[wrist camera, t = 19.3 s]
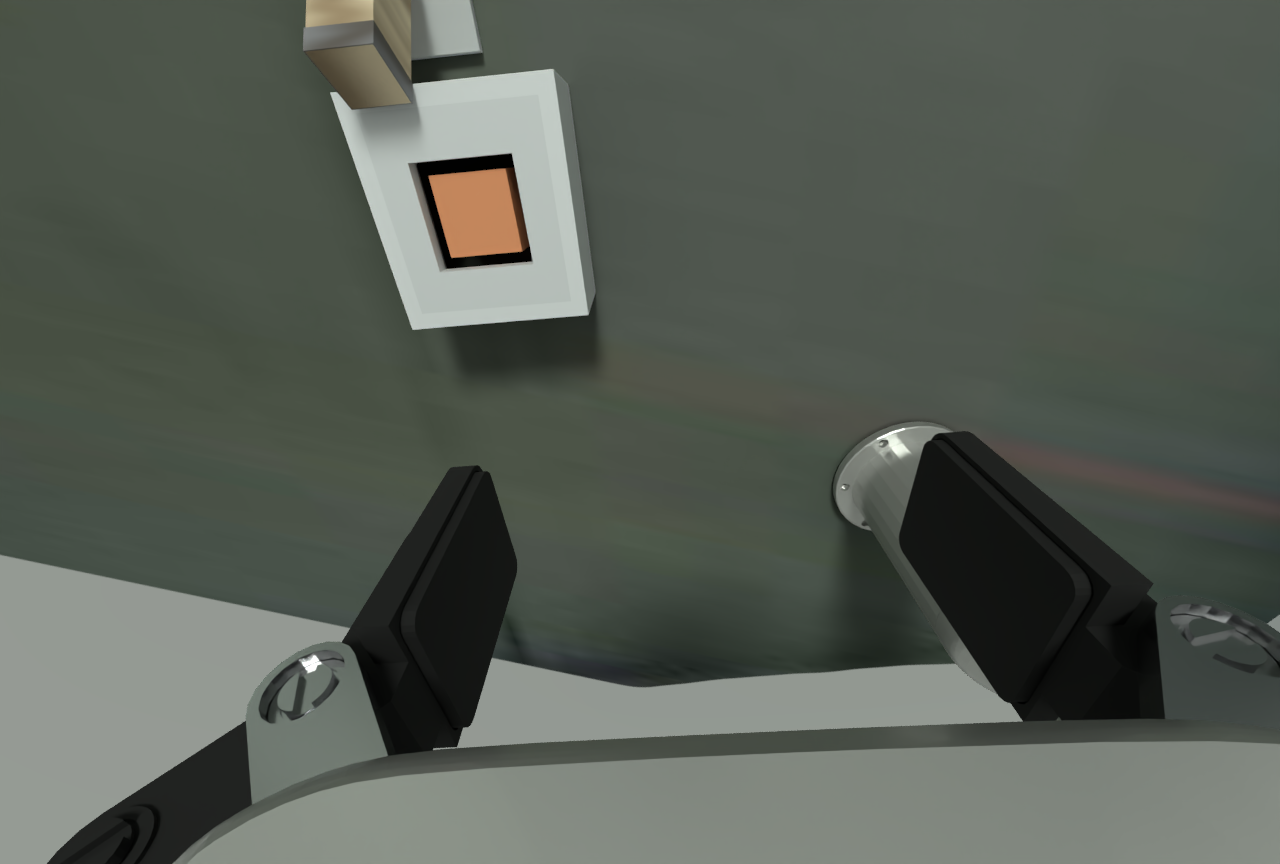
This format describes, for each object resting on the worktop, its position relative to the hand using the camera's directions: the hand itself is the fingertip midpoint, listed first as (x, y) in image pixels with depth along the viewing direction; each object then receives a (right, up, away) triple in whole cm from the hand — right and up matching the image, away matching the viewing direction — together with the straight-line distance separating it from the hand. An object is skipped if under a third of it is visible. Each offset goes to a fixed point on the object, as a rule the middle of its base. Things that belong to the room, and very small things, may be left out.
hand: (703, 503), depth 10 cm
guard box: (-11, +18, +22) cm, 31 cm away
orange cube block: (-11, +17, +22) cm, 30 cm away
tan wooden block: (-16, +29, +14) cm, 35 cm away
